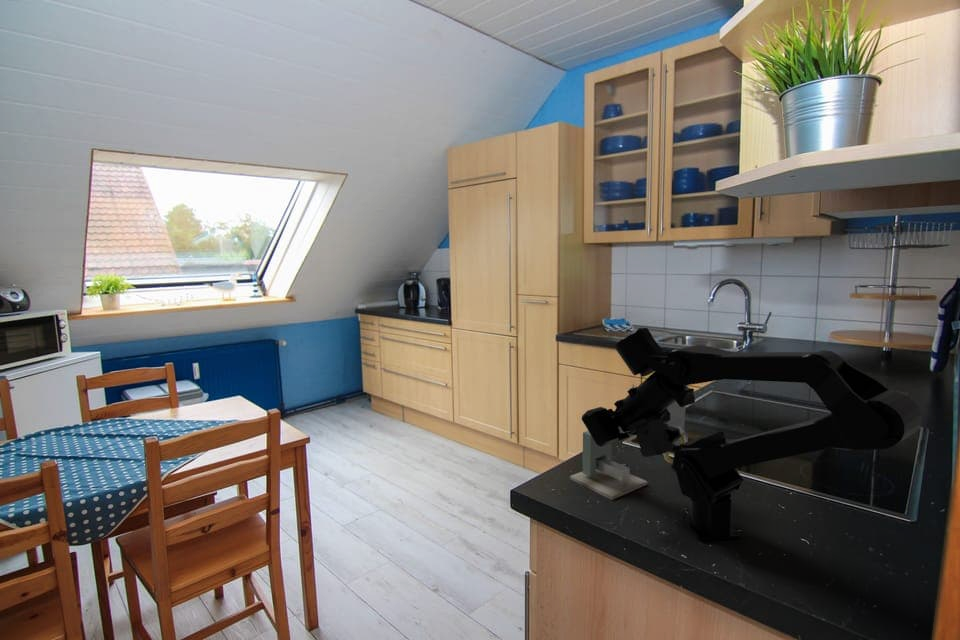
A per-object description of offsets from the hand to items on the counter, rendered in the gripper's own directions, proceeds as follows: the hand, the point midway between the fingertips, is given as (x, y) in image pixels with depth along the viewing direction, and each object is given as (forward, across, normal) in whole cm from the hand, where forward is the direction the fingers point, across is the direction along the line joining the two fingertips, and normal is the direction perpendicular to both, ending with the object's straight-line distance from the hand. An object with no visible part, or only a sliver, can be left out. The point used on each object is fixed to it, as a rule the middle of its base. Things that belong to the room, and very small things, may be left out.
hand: (602, 439), depth 96 cm
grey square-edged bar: (+5, 0, -6) cm, 8 cm away
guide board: (+4, 0, -7) cm, 8 cm away
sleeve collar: (+6, 0, -4) cm, 7 cm away
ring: (+3, +17, -9) cm, 20 cm away
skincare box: (+9, +27, -2) cm, 29 cm away
